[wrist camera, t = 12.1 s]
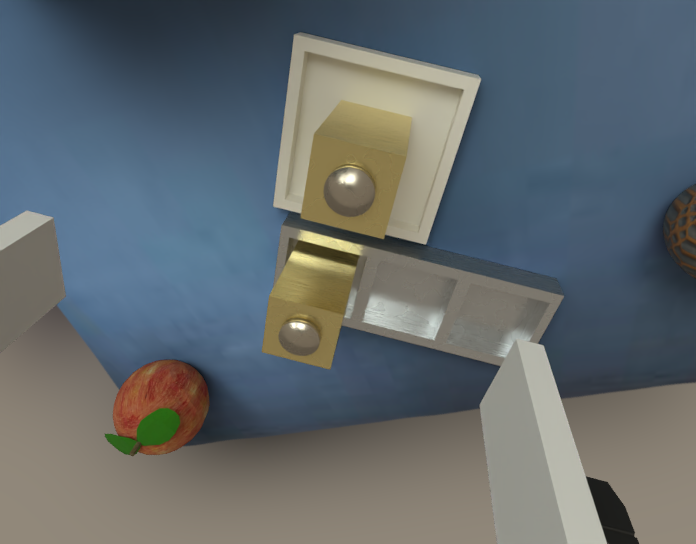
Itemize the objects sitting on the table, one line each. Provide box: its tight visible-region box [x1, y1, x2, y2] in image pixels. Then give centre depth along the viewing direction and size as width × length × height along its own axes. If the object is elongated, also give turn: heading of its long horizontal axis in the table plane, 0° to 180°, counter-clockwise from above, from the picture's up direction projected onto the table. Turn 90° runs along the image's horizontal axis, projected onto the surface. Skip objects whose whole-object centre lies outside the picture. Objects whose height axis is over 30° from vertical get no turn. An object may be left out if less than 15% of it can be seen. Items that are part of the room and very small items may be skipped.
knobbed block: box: [300, 100, 412, 239], centre depth 29 cm, size 5×5×10 cm
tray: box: [273, 32, 481, 245], centre depth 33 cm, size 12×12×2 cm
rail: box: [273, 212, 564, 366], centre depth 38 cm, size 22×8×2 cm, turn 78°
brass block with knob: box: [262, 240, 359, 369], centre depth 35 cm, size 5×5×10 cm
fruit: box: [105, 360, 209, 456], centre depth 45 cm, size 9×10×10 cm
